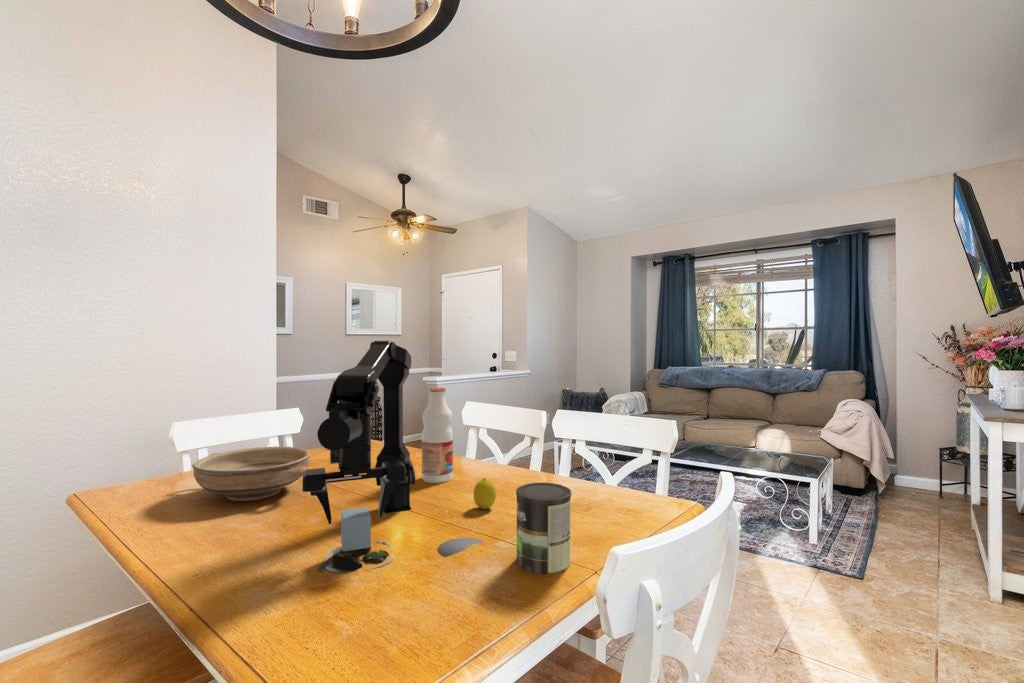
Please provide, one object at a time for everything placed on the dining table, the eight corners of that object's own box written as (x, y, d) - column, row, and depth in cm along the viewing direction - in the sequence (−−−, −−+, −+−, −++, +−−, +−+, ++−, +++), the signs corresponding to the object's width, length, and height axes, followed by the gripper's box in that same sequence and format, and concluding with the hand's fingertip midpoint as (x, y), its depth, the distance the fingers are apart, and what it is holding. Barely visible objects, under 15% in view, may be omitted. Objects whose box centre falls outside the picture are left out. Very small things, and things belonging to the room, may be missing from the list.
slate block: (367, 537, 95) (367, 507, 95) (370, 547, 90) (370, 515, 90) (341, 541, 93) (341, 510, 93) (342, 551, 88) (343, 519, 88)
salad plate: (323, 548, 98) (323, 531, 98) (391, 540, 101) (391, 524, 101) (315, 583, 83) (315, 563, 83) (395, 572, 87) (395, 553, 87)
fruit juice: (420, 476, 148) (420, 386, 148) (450, 474, 151) (450, 385, 151) (422, 485, 139) (422, 389, 139) (454, 482, 142) (454, 388, 142)
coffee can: (518, 580, 83) (518, 500, 83) (513, 554, 93) (513, 482, 93) (576, 578, 84) (576, 498, 84) (565, 552, 94) (565, 481, 94)
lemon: (492, 515, 115) (492, 482, 115) (470, 513, 116) (470, 480, 116) (498, 507, 120) (498, 475, 120) (477, 505, 121) (476, 474, 121)
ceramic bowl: (158, 499, 127) (158, 461, 127) (257, 472, 152) (257, 441, 152) (249, 521, 111) (249, 478, 111) (342, 488, 136) (342, 453, 136)
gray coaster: (478, 537, 102) (478, 534, 102) (495, 556, 92) (495, 553, 92) (432, 545, 98) (432, 542, 98) (445, 566, 88) (445, 563, 88)
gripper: (397, 428, 103) (397, 500, 103) (302, 435, 95) (302, 512, 95) (407, 437, 93) (407, 518, 93) (302, 446, 85) (302, 533, 85)
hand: (355, 519), depth 92 cm, fingers open, 9 cm apart
